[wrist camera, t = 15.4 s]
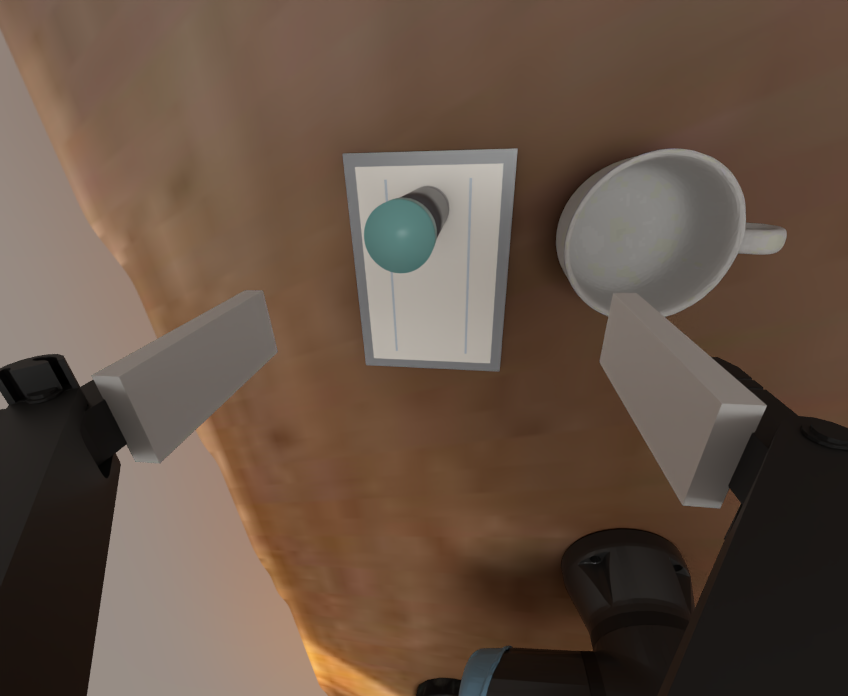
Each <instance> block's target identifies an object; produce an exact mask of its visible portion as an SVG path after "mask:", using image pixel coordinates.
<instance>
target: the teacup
mask: <svg viewBox="0 0 848 696" xmlns="http://www.w3.org/2000/svg"><path fill="white" fill-rule="evenodd" d="M786 237H787V234H786V230H785V229H784V228H782V227H779V226H774V225H767V224H757V223H746V208H745V199H744V196H743V193H742V190H741V187H740V185H739V183H738V182H737V180H736V178H735V176H734V175H733V174H732V173H731V172H730V170H729V169H728V168H727V167H726V166H724V165H723V164H722V163H721V162H719V161H718V160H716V159H714V158H713V157H710V156H708V155H705V154H702V153H699V152H696V151H693V150H686V149H674V148H672V149H661V150H655V151H651V152H648V153H644V154H641V155H639V156H636V157H632V158H628V159H625V160H622V161H619V162H616V163H613V164H611V165H609V166H607V167H605V168H603V169H601V170H600V171H598V172H597V173H595V174H594V175H592V176H591V177H590V178H588V179H587V180H586V181H585V182H584V183H583V184H582V185H581V186H580V187H579V188H578V189H577V190H576V191H575V192H574V194H573V195H572V196H571V198H570V199H569V201H568V202H567V204H566V206H565V208H564V210H563V212H562V214H561V217H560V220H559V223H558V228H557V233H556V249H557V255H558V259H559V262H560V265H561V267H562V269H563V271H564V273H565V275H566V276H567V278H568V280H569V282H570V284H571V286H572V288H573V289H574V290H575V292H576V293H577V295H578V296H579V297H580V298H581V299H582V300H583V301H584V302H585V303H586V304H587V305H588V306H590V307H591V308H593V309H594V310H595V311H597V312H599V313H601V314H603V315H606V316H609V311H610V306H611V301H612V296H613V293H637V294H638V295H639V296H641V297H642V298H643V299H644V300H645V301H646V302H648V303H649V304H650V305H651V306H652V307H653V308H655V309H656V310H657V311H658V312H659V313H660V314H662V315H663V316H664V317H666V316H669V315H672V314H675V313H678V312H680V311H682V310H684V309H685V308H687V307H689V306H691V305H693V304H694V303H696V302H697V301H699V300H700V299H702V298H703V297H704V296H706V294H707V293H709V292H710V291H711V290H712V289H713V288H714V287H715V286H716V285H717V284H718V283H719V282H720V280H721V279H722V278H723V277H724V275H725V274H726V272H727V271H728V269H729V268H730V266H731V265H732V263H733V261H734V259H735V258H736V256H737V254H738V253H741V254H773V253H776V252H778V251H779V250H780V249H781V248H782V247H783V245H784V243H785V240H786Z"/></svg>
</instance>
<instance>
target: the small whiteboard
mask: <svg viewBox="0 0 848 696" xmlns="http://www.w3.org/2000/svg"><path fill="white" fill-rule="evenodd" d="M517 150H518V149H485V150H451V151H416V152H382V153H347V154H343V163H344V172H345V181H346V190H347V199H348V208H349V217H350V225H351V234H352V243H353V252H354V261H355V270H356V279H357V288H358V297H359V306H360V315H361V324H362V332H363V341H364V350H365V359H366V365H376V366H397V367H418V368H439V369H460V370H481V371H500V360H501V348H502V335H503V323H504V310H505V298H506V286H507V273H508V261H509V249H510V236H511V224H512V212H513V199H514V187H515V175H516V162H517ZM423 186H434V187H436V188H438V189H440V190H441V191H442V192H443V193H444V194H445V195H446V197H447V199H448V202H449V215H448V218H447V220H446V222H445V224H444V226H443V228H442V230H441V232H440V234H439V236H438V237H437V239H436V244H435V247H434V249H433V251H432V253H431V255H430V257H429V258H428V260H427V261H426V262H425V263H424V264H423V265H422V266H421V267H420V268H418V269H416V270H414V271H412V272H409V273H393V272H390V271H387V270H385V269H383V268H382V267H380V266H379V265H378V264H376V263H375V261H374V260H373V259H372V258H371V256H370V255H369V253H368V251H367V249H366V246H365V241H364V228H365V224H366V221H367V219H368V217H369V215H370V214H371V213H372V211H373V210H374V209H375V208H377V207H378V206H379V205H381V204H383V203H385V202H387V201H389V200H392V199H395V198H400V197H402V196H404V195H406V194H408V193H410V192H412V191H414V190H416V189H418V188H420V187H423Z"/></svg>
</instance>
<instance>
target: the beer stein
mask: <svg viewBox="0 0 848 696" xmlns="http://www.w3.org/2000/svg"><path fill="white" fill-rule="evenodd" d="M460 685H461V680H458V679H451V678H437V679H431V680H427V681H425V682H423V683H422V684H420V685H419V687H418V690H417V694H416V696H459V690H460Z"/></svg>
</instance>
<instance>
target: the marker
mask: <svg viewBox="0 0 848 696" xmlns="http://www.w3.org/2000/svg"><path fill="white" fill-rule="evenodd" d="M448 215H449V202H448V199H447V197H446V195H445V194H444V193H443V192H442V191H441V190H440V189H438V188H436V187H434V186H423V187H420V188H418V189H416V190H414V191H412V192H410V193H408V194H406V195H404V196H402V197H400V198H395V199H392V200H389V201H387V202H385V203H383V204H381V205H379V206H378V207H377V208H375V209H374V210H373V211H372V213H371V214H370V215H369V217H368V219H367V221H366V224H365V228H364V241H365V246H366V249H367V251H368V253H369V255H370V256H371V258H372V259H373V260H374V261H375V263H376V264H378V265H379V266H380V267H382V268H383V269H385V270H387V271H390V272H393V273H409V272H412V271H414V270H416V269H418V268H420V267H421V266H422V265H423V264H424V263H425V262H426V261H427V260H428V258H429V257H430V255H431V253H432V251H433V249H434V247H435V244H436V239H437V237H438V236H439V234H440V232H441V230H442V228H443V226H444V224H445V222H446V220H447V218H448Z"/></svg>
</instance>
